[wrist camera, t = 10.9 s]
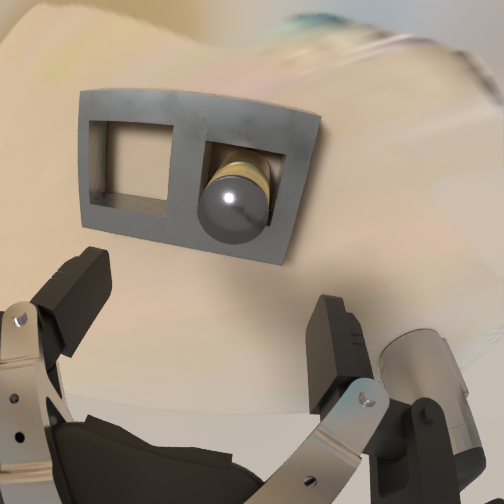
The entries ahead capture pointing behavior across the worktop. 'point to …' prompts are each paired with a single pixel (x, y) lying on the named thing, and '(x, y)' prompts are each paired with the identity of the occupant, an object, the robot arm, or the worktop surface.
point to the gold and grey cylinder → (236, 199)
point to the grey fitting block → (193, 165)
